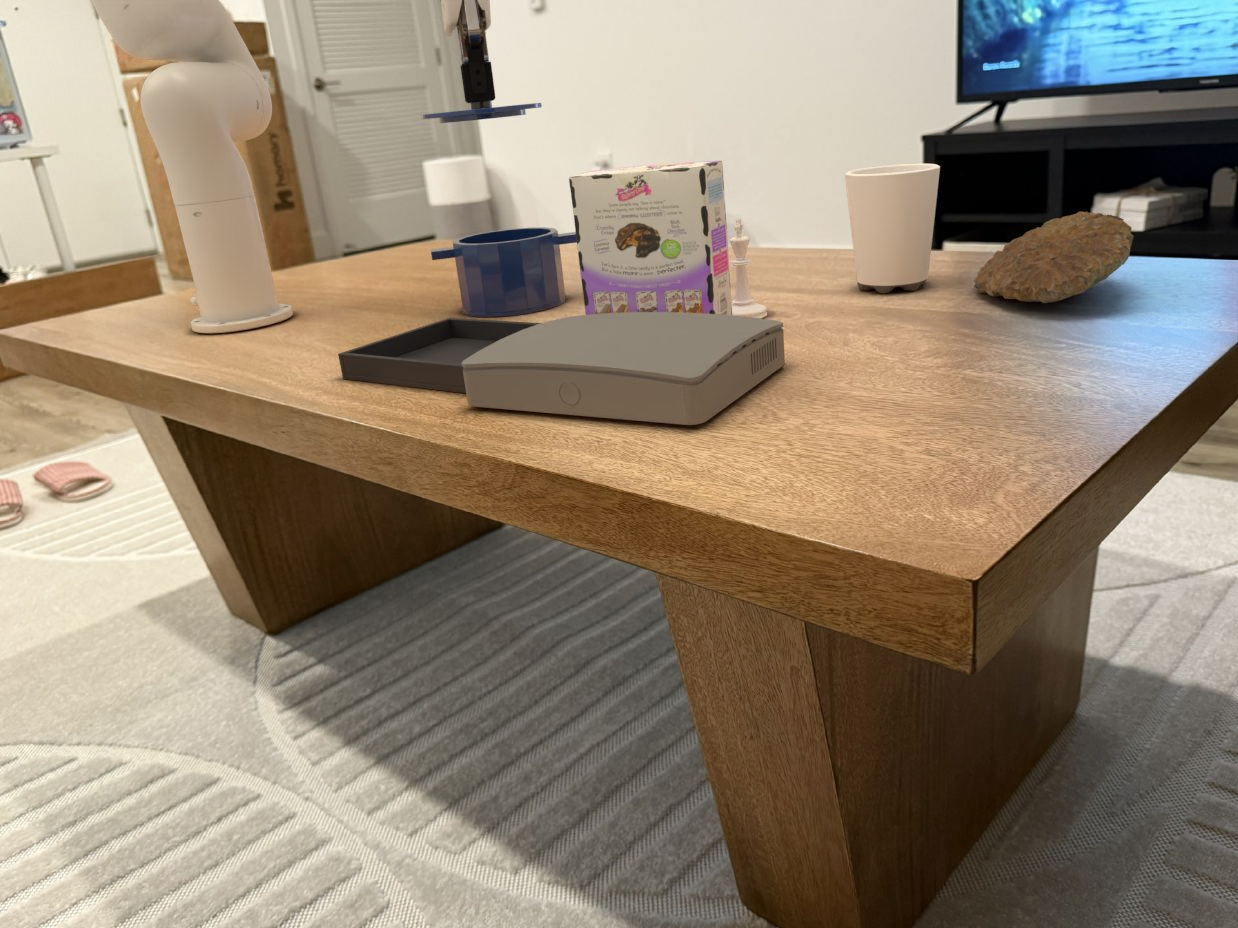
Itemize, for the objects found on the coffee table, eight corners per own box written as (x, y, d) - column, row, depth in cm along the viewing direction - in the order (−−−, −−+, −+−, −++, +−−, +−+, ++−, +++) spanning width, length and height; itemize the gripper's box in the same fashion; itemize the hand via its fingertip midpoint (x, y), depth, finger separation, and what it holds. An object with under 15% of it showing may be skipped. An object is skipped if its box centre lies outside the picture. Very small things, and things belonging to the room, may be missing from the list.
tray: (342, 378, 95) (337, 353, 94) (452, 340, 106) (449, 317, 106) (472, 394, 85) (468, 366, 84) (578, 350, 97) (575, 325, 96)
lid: (422, 124, 117) (414, 69, 115) (536, 113, 119) (529, 58, 117) (422, 125, 104) (412, 63, 102) (549, 112, 106) (542, 51, 104)
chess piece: (714, 321, 102) (708, 224, 99) (727, 311, 107) (722, 216, 103) (760, 321, 100) (755, 221, 97) (772, 310, 105) (768, 214, 101)
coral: (990, 260, 109) (1105, 162, 99) (1045, 323, 108) (1167, 230, 98) (925, 298, 96) (1051, 189, 85) (988, 371, 94) (1123, 268, 84)
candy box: (735, 330, 98) (725, 158, 92) (715, 345, 93) (703, 164, 87) (610, 329, 104) (594, 167, 98) (585, 343, 99) (566, 174, 93)
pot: (441, 305, 126) (430, 238, 123) (579, 287, 129) (572, 221, 126) (441, 325, 115) (429, 251, 112) (593, 305, 117) (585, 232, 114)
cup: (950, 291, 105) (952, 167, 100) (857, 300, 105) (855, 177, 101) (924, 275, 114) (925, 161, 110) (839, 283, 115) (836, 170, 110)
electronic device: (585, 350, 96) (579, 300, 94) (796, 360, 85) (794, 303, 84) (462, 410, 81) (452, 351, 79) (699, 431, 70) (694, 363, 68)
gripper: (420, -67, 111) (445, 106, 118) (419, -95, 96) (448, 104, 103) (486, -72, 112) (508, 99, 119) (496, -100, 97) (520, 97, 104)
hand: (480, 100), depth 111 cm, fingers closed on lid, 2 cm apart
